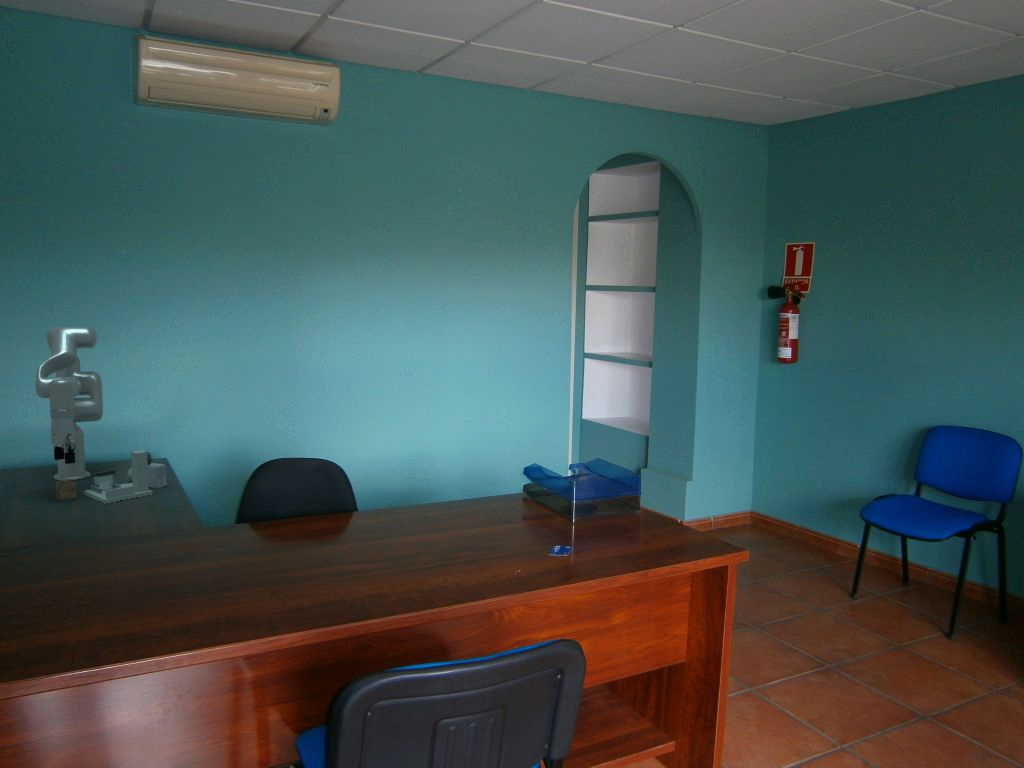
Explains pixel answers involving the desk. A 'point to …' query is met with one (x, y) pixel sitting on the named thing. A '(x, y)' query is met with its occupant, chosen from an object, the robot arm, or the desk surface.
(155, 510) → the desk surface
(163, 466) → the medicine box
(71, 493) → the block
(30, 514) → the desk surface
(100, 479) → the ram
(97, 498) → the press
